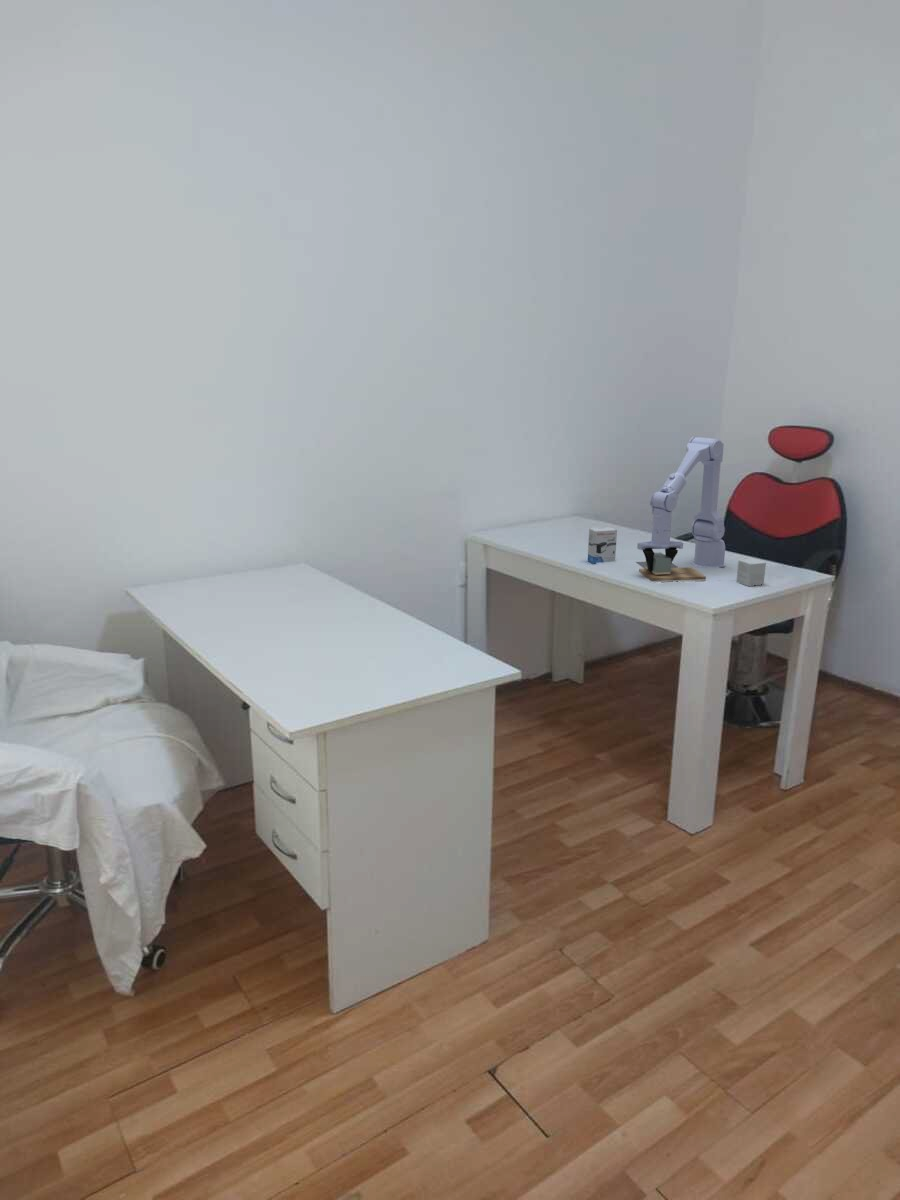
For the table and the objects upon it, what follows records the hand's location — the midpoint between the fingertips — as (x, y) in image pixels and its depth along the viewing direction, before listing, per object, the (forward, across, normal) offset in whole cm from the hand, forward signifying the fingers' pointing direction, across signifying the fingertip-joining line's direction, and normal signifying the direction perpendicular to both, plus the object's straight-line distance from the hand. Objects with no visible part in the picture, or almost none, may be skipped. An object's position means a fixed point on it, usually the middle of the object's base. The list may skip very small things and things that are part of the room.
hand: (658, 570), depth 284 cm
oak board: (+2, +5, 0) cm, 5 cm away
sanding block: (0, 0, +1) cm, 1 cm away
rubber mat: (+2, +5, +13) cm, 14 cm away
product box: (+3, +27, -10) cm, 29 cm away
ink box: (+3, -12, +22) cm, 25 cm away
